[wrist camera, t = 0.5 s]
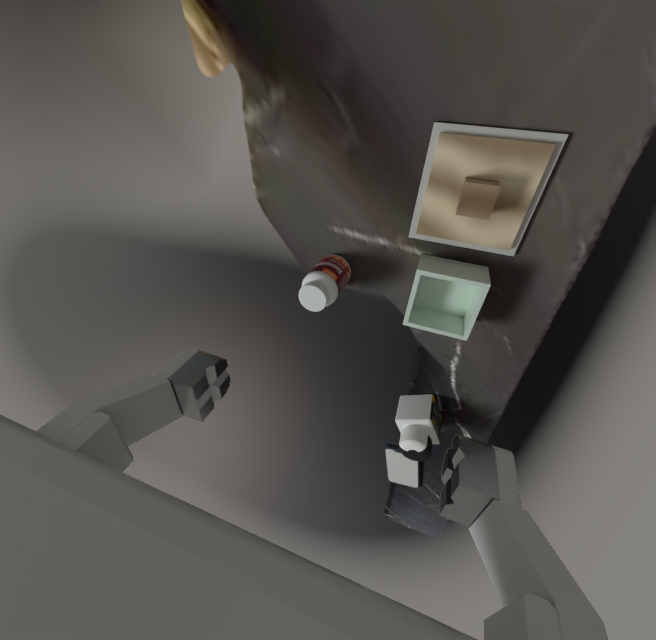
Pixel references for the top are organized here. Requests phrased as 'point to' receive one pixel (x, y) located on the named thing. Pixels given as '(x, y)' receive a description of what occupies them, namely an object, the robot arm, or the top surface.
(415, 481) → the phone case
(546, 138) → the mat
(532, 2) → the top surface
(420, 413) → the medicine bottle
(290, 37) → the top surface
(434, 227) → the lid
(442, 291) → the pale green storage bin
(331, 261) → the pill bottle
